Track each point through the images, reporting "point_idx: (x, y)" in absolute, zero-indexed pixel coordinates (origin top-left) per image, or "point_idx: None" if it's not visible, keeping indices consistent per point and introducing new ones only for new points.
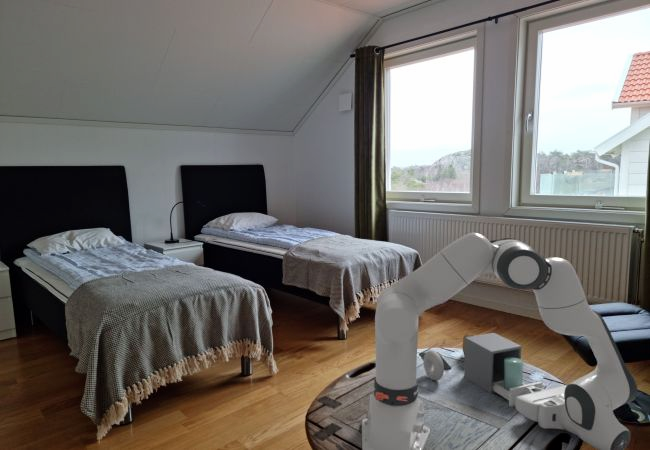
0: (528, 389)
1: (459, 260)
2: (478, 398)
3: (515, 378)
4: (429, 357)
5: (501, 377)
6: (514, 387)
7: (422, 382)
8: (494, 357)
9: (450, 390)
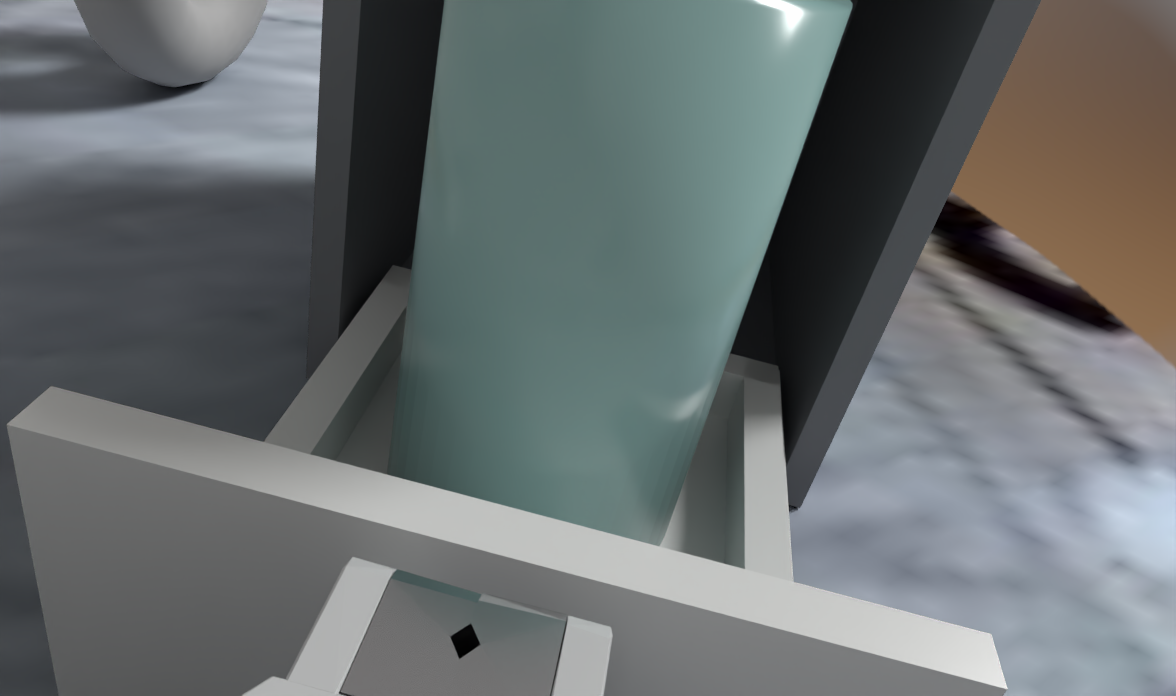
0: (299, 660)
1: None
2: (52, 345)
3: (468, 299)
4: None
5: None
6: (184, 426)
7: (57, 55)
8: (820, 121)
9: (55, 169)
